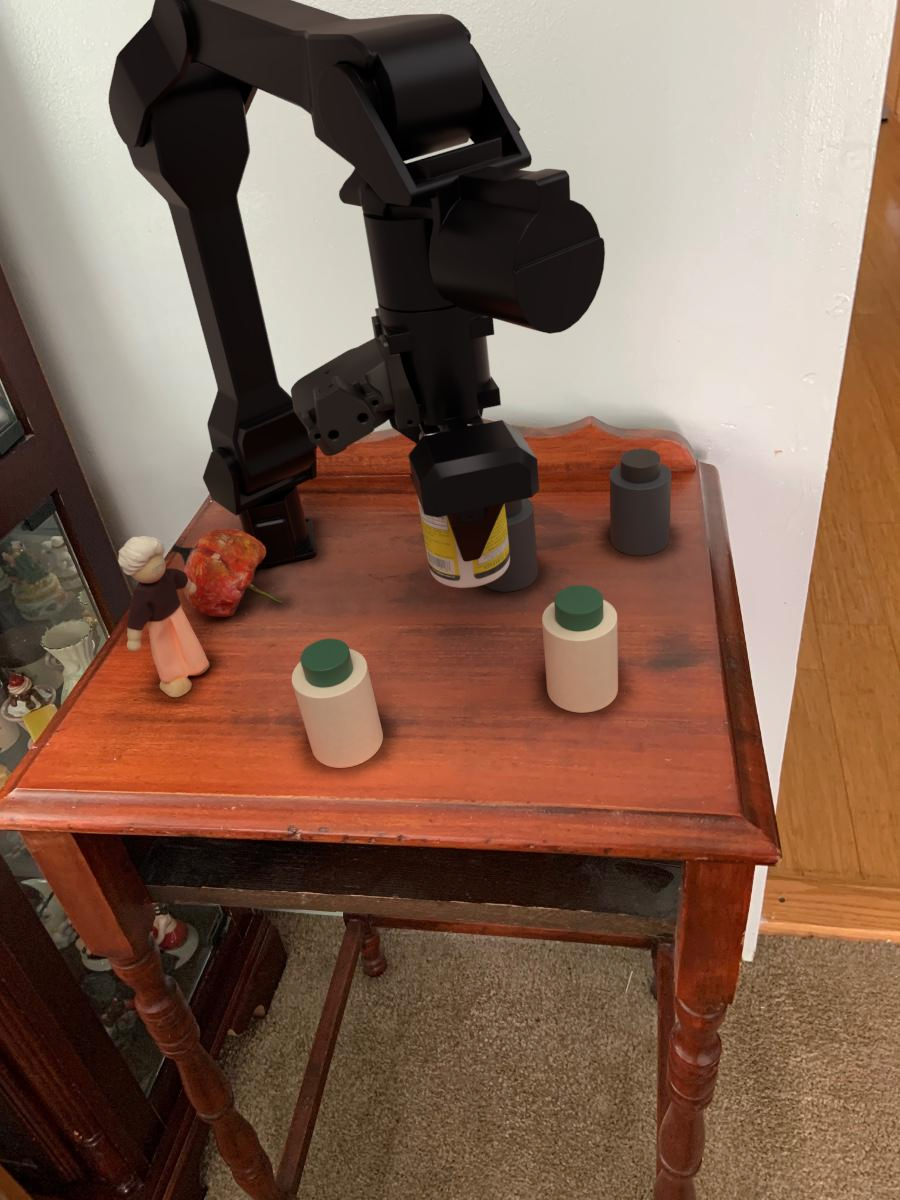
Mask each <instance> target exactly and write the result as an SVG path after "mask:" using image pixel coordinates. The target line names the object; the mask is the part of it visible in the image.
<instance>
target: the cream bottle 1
mask: <svg viewBox="0 0 900 1200" xmlns="http://www.w3.org/2000/svg"><path fill="white" fill-rule="evenodd" d="M299 661H300V662H298V663H297V665H295V667H294V669H293V670H292V674H291V684H292V688H293V691H294V694H295V697H296V701H297V704H298V708H299V711H300V715H301V718H302V723H303V725H304V728H305V731H306V734H307V739H308V742H309V745H310V748H311V752H312V754H313V756H314V758H315V759H316V761H318V762H319V763H321V764H322V765H324V766H327V767H329V768H333V769H334V768H335V769H346V768H352V767H356V766H359V765H361V764H363V763H365V762H367V761H369V760H371V758H372V757H373V756H375V755H376V753H377V752H378V751H379V750H380V748H381V745H382V743H383V740H384V733H383V728H382V725H381V719H380V716H379V715H380V714H379V711H378V707H377V701H376V698H375V693H374V689H373V685H372V680H371V676H370V671H369V667H368V662H367V660H366V658H365V656H364V655H362V654H361V653H360V652H358V651H357V650H355V649H352V648H350V647H349V645H348V644H347V643H346V642H345V641H343V640H342V639H338V638H323V639H320V640H319V639H318V640H317V641H314V642H312V643H310V644H309V645H308V646H306V647H305V648H304V649H303V650H302V652H301V654H300V658H299Z"/></svg>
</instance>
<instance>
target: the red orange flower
mask: <svg viewBox="0 0 900 1200" xmlns="http://www.w3.org/2000/svg"><path fill="white" fill-rule="evenodd" d="M172 553H178V554H180V555H181V558H182V561H183V562H182V563H183V570H182V571H183V572H185V573H186V575H187V577H188V578H189V579H190V581H191V582H192V583H194V584H195V585H196V588H197V589H196V592H195V593H194V594H192V595H186V594H185V593H184V596H185V598H186V599H187V601H188V602H189V603H190V604H191V605H192V607H193V608H194V609H195V610H197V611H199V613H201V614H202V615H206V616H209V617H216V618H228V617H230V616H234V614H235V612H236V610H237V608H238V606H239V604H240V601H241V600H242V599H243V596H244V593H245V590H246V589H249V590H251V591H252V592H254V593H255V594H257V595H260V596H264V597H266V598H268V599H270V600H272V601H274V602H276V603H278V604H280V605H281V604H282V601H280V600H278V599H276V598H275V597H273V596H271V594H268V593H267V592H264V591H263V590H260V589H258V588H257V587H256V586H255V585H253V584H252V582H253V581H254V579H255V572H256V570H257V569H258V568H257V566H258V565H259V564H260V563H261V562H262V560H263V559H264V557H265V555H266V548H265V547H264V545H263V544H262V543H261V542H260V541H258V540H257V539H256V538H255V537H253V536H251V535H249V534H247V533H245V532H244V531H243V530H242V529H241V530H240V529H238V528H237V529H236V528H226V529H225V528H223V529H215V530H212V531H210V532H208V533H206V534H205V535H204V536H201V537H200V538H199V539H198V540H197V542H196V543H194V545H193V547H185V546H179V545H177V544H176V543H174V544H173V545H172V547H171V549H169V551H168V554H172ZM256 568H257V569H256Z"/></svg>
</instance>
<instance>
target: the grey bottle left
mask: <svg viewBox="0 0 900 1200" xmlns="http://www.w3.org/2000/svg"><path fill="white" fill-rule="evenodd" d="M505 512H506V521H507V530H508V541H509V551H510V563H509V566H508V568H507V570H506V571H505V572H504V573H503V574H502V575H501V576H500V577H499V578H498V579H496V580H494V581H492V582H490V583H487V584H484V585H483V586H484V587H486V588H487V589H489V590H491V591H495V592H501V593H502V592H503V593H509V592H515V591H521V590H523V589H526V588H527V587H529V586H530V585H532V584H533V583H534V582H536V580H537V579H538V576H539V564H538V563H539V562H538V551H537V549H538V548H537V537H536V535H537V534H536V522H535V509H534V504H533V502H532V501H531V500H530V498H526V499H522V500H517V501H512V502H508V503H505Z"/></svg>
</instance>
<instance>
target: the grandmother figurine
mask: <svg viewBox="0 0 900 1200" xmlns="http://www.w3.org/2000/svg"><path fill="white" fill-rule="evenodd" d="M165 547H166V546H164V543H163V542H162V541H161V540H160V539H158V538H156V537H153V536H147V535H141V536H132V537H131V538H130V539H128V540H127V541H126V542H125V543H124V545H123V546H122V547H121V548H120V549H119V550H118V558H117V559H118V560H117V562H118V564H119V566H120V567H121V569H122V571H123V573H124V574H125V575H127V576H131V577H132V578H133V580H135V581H137V582H138V583H137V585H136V586H135V587H134V588H133V590H132V596H131V600H130V605H129V611H128V616H127V621H126V628H127V629H126V631H127V632H126V634H127V635H126V637H127V642H126V648H127V650H128V651H129V652H132V653H135V652H138V651H140V650H141V649H142V640H141V639H142V638H143V630H144V628H145V626H146V627H147V629H148V637H149V644H150V652H151V656H152V660H153V663H154V665H155V668H156V671H157V674H158V678H159V680H160V683H159V689H160V690H161V691H162V692H163V693H164V694H166V695H167V696H169V697H170V698H179V697H183V696H184V695H186V694H187V693H188V692H189V691H190V690H191V689H192V686H193V683H192V681H191V680H190V679H189V678H188V677H190V676H191V677H197V676H200V675H202V674H204V673H206V672H207V670H208V669H209V668H210V661H209V660H208V657H207V656H206V653H205V651H204V649H203V647H202V645H201V642H200V640H199V639H198V637H197V635H196V633H195V631H194V629H193V628H192V625H191V623H190V621H189V619H188V618H187V615H186V614H185V612H184V610H183V606H182V602H181V600H180V597H179V592H178V590H181V591H182V592H183V593H184V595H185V594H186V595H192V594H194V593H195V592H196V589H197V588H196V585H195V584H194V583H192V582H191V581H190V579H189V578H188V577H187V575H186V573H185V572H183V571H184V570H181V569H179V568H174V567H168V568H167V565H166V559H165V558H164V553H165V552H166V548H165Z"/></svg>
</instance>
